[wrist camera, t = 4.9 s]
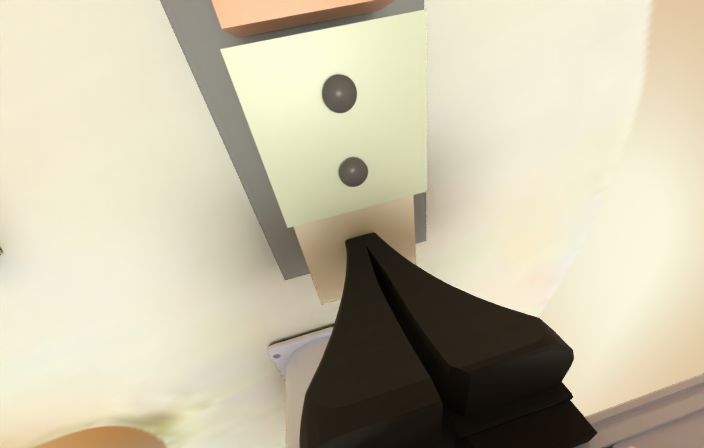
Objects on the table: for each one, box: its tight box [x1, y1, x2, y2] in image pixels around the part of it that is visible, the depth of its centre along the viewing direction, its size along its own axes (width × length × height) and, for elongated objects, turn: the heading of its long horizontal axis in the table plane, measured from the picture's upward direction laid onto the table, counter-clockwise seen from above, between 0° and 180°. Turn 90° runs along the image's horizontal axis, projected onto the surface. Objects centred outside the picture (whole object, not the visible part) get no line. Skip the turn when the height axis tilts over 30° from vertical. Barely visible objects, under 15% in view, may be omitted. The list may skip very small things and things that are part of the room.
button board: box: [160, 0, 426, 280], centre depth 11 cm, size 17×9×3 cm, turn 10°
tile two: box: [220, 9, 428, 228], centre depth 8 cm, size 5×5×3 cm
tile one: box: [293, 195, 416, 304], centre depth 12 cm, size 5×5×3 cm
